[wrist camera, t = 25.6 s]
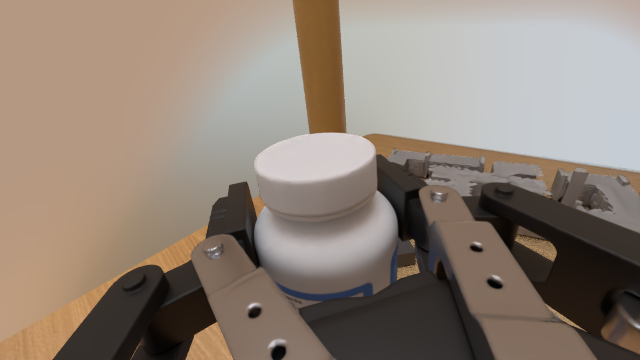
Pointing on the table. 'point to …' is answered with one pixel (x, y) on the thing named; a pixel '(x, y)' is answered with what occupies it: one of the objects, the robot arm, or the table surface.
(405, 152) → the architectural model
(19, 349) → the table surface
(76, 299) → the table surface
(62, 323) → the table surface
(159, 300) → the robot arm
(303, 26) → the stand pole
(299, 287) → the pill bottle
